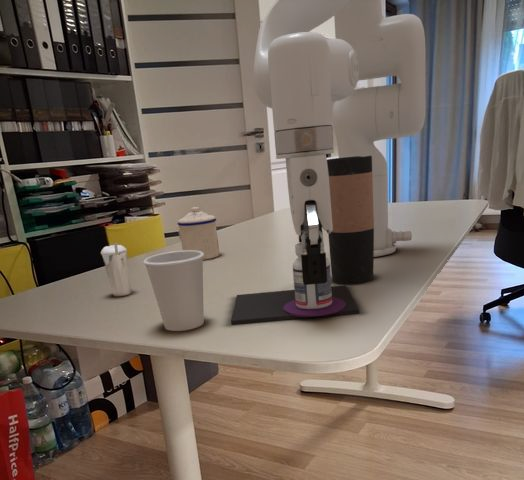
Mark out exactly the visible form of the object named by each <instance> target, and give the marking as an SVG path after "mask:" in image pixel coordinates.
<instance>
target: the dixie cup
mask: <svg viewBox="0 0 524 480" xmlns="http://www.w3.org/2000/svg"><path fill="white" fill-rule="evenodd" d="M203 256H204V253H203V252H201V251H196V250H184V251H183V250H175V251H174V250H173V251H166V252H162V253H157V254H153V255H151V256H148V257H146V258H145V259H144V260H143V264H144V265H145V267H146V271H147V273H148V276H149V281H150V284H151V287H152V290H153V293H154V297H155V299H156V300H155V301H156V304H157V307H158V310H159V313H160V316H161V321H162V322H163V326H164V329H165V330H167V331H171V332H182V331H189V330H190V331H191V330H194V329H196V328H199V327H201V326H202V325H204V323H205V320H204V319H205V318H204V317H205V316H204V315H205V314H204V313H205V311H204V310H205V309H204V264H203V263H204V260H203Z"/></svg>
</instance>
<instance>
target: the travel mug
mask: <svg viewBox="0 0 524 480" xmlns="http://www.w3.org/2000/svg"><path fill="white" fill-rule="evenodd" d="M327 165H328V174H329V185H330V199H331V213H332V224H333V231H332V232H331V233H327V235H328V245H329V247H328V248H329V257H330V259H329V261H330V273H331V281H332V282H334V283H336V284H342V285H355V284H362V283H367V282H369V281H372V280H373V279H374V265H375V264H374V263H375V260H374V258H375V257H374V213H373V179H372V156H365V157H361V156H354V157H344V158H339V157H335V158H328V159H327Z"/></svg>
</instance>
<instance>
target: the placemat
mask: <svg viewBox="0 0 524 480" xmlns="http://www.w3.org/2000/svg"><path fill="white" fill-rule="evenodd" d="M331 290H332V303H331V305H329V306H328V307H325V308H321V309H311V310H307V309H301V308H298V307H297V306H296V301H295V289H290V290H289V289H286V290H277V291H276V290H275V291H264V292H253V293H244V294H236V297H235V301H234V305H233V310H232V315H231V319H230V323H231V324H230V325H241V324H252V323H262V322H263V323H265V322H275V321H286V320H288V321H289V320H298V319H299V320H300V319H309V318H320V317H331V316H344V315H352V314H355V315H356V314H360V308H359V307H358V305H357V303H356V301H355V299H354V298H353V295H352V294H351V292H350V290H349V289H348V287H347V284H342V285H331Z"/></svg>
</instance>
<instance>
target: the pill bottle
mask: <svg viewBox="0 0 524 480" xmlns="http://www.w3.org/2000/svg"><path fill="white" fill-rule="evenodd" d="M306 245H307V244H306ZM294 247H295V252H294V253H295V255H296V256H297V259H295V260H294V261H293V263H292V275H293V287H294V289H293V290H295V301H296V306H297V307H298V308H301V309H307V310H311V309H321V308H325V307H328V306H329V305H331V303H332V290H331V286H332V273H331V261H330V259H329V258H328V257H326V268H327V282H326V283H321V284H310V285H305V284H304V283H303V275H302V261H301V255H303V248H302V242H301V243H299V242H297V243H295V245H294Z"/></svg>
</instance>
